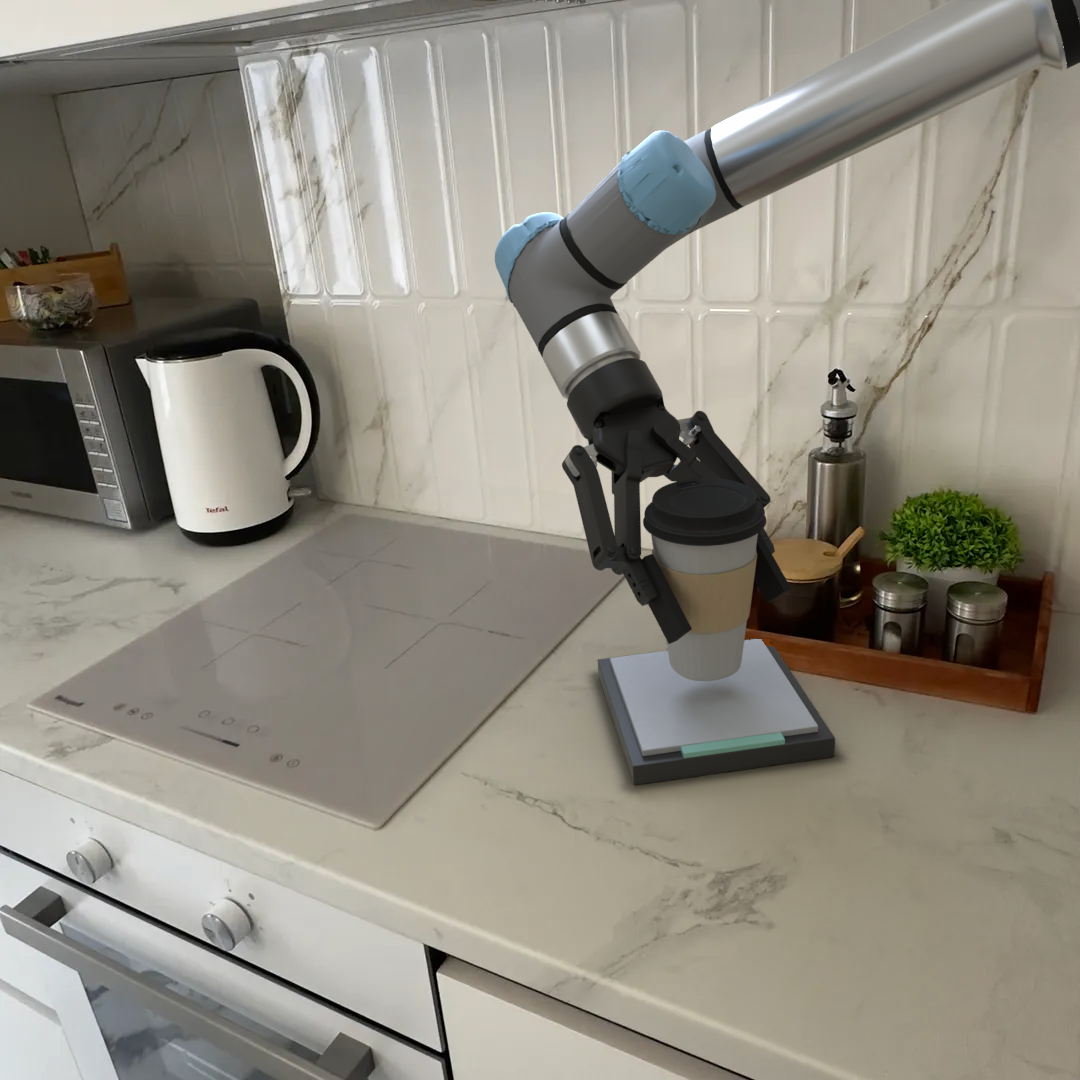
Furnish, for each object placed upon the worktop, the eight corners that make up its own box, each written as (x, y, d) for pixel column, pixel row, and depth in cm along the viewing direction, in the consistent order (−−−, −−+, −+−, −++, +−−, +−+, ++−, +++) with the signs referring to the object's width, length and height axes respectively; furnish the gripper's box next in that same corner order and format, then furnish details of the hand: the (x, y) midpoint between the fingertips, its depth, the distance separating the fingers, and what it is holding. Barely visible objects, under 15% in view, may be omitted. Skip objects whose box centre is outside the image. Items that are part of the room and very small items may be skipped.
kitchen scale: (767, 653, 91) (768, 631, 90) (834, 756, 76) (835, 731, 75) (598, 675, 90) (597, 653, 89) (633, 785, 75) (632, 760, 74)
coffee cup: (694, 623, 87) (692, 466, 81) (786, 658, 81) (791, 490, 75) (625, 668, 81) (616, 502, 75) (718, 709, 75) (717, 531, 69)
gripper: (686, 378, 90) (807, 591, 84) (477, 433, 80) (597, 678, 74) (725, 330, 84) (858, 555, 78) (503, 382, 74) (636, 646, 68)
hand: (731, 615), depth 76 cm, fingers closed on coffee cup, 9 cm apart
